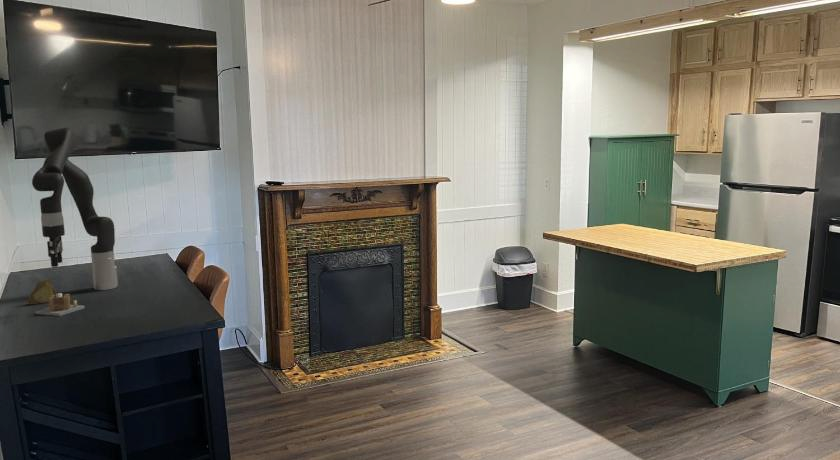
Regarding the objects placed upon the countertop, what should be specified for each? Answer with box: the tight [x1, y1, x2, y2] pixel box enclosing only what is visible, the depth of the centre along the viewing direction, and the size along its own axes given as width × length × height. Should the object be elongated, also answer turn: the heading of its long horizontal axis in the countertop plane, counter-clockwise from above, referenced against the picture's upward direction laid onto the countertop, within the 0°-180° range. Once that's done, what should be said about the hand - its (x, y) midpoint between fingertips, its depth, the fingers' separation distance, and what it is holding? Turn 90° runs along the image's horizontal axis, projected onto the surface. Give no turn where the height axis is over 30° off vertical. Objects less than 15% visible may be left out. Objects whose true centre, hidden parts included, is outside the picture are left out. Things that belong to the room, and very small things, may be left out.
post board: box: [35, 292, 85, 317], centre depth 248 cm, size 12×12×7 cm
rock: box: [27, 279, 58, 305], centre depth 264 cm, size 11×9×10 cm
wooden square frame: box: [48, 293, 72, 311], centre depth 249 cm, size 6×6×5 cm
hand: (57, 264), depth 248 cm, fingers open, 8 cm apart
